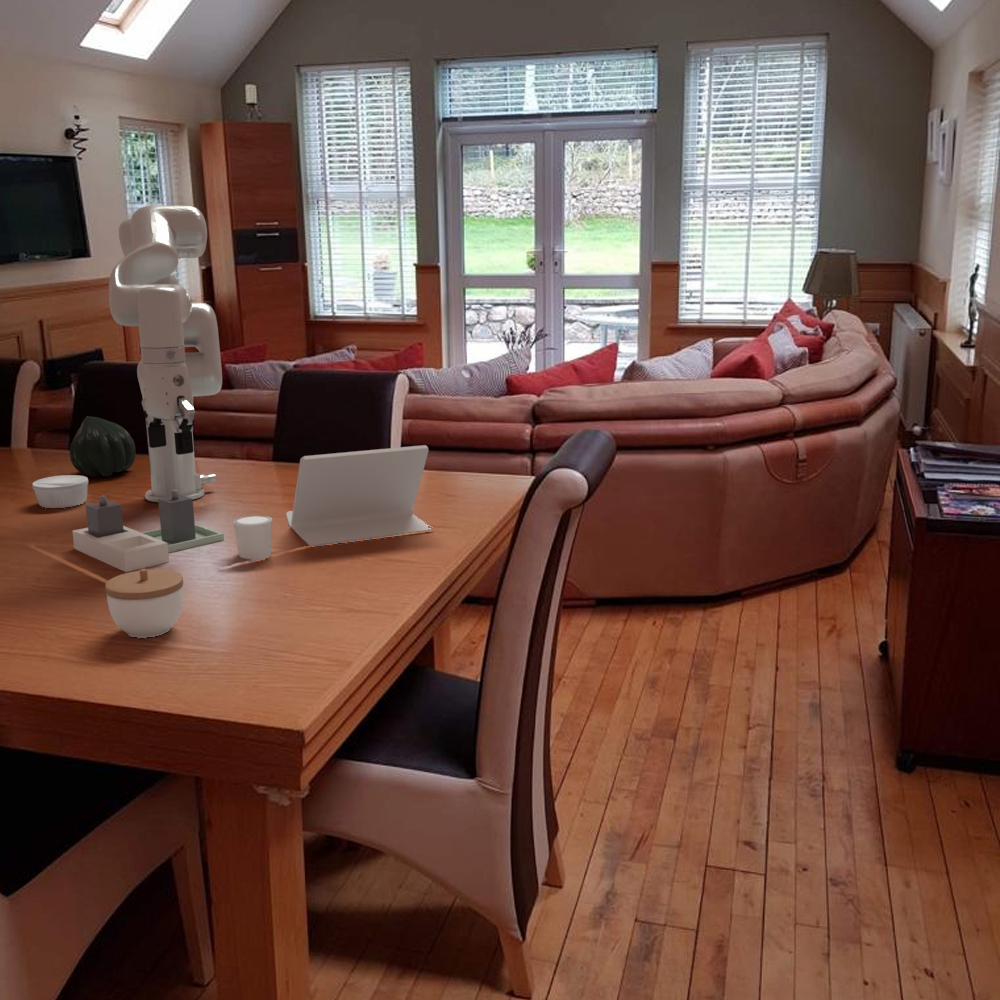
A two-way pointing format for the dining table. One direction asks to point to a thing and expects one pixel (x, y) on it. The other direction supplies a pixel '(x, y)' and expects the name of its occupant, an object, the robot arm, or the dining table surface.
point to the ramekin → (61, 491)
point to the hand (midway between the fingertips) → (171, 450)
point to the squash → (101, 448)
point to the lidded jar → (145, 601)
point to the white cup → (254, 537)
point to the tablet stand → (357, 495)
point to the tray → (202, 538)
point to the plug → (176, 518)
